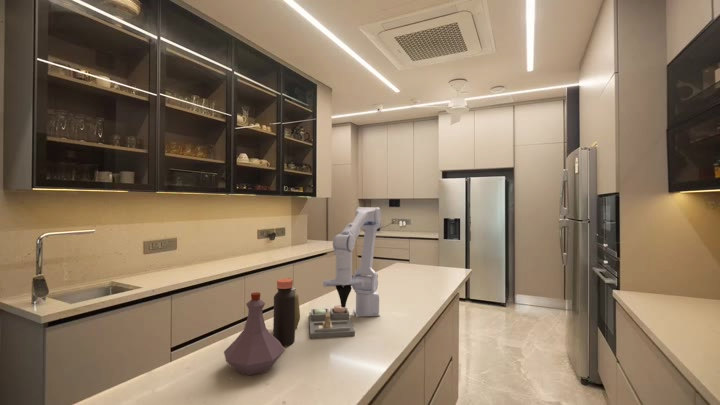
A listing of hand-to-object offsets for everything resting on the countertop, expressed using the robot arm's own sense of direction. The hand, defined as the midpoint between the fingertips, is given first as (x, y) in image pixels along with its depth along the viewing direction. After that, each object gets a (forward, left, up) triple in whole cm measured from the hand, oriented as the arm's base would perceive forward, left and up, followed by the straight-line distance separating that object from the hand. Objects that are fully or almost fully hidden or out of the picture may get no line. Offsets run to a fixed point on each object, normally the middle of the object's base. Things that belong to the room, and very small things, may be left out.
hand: (343, 306), depth 116 cm
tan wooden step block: (+6, 0, -7) cm, 9 cm away
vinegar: (+20, +7, -9) cm, 23 cm away
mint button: (+8, -11, -7) cm, 15 cm away
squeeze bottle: (+19, -5, -9) cm, 22 cm away
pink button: (0, -11, -6) cm, 12 cm away
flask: (+27, +22, -9) cm, 36 cm away
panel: (+4, -6, -9) cm, 11 cm away
